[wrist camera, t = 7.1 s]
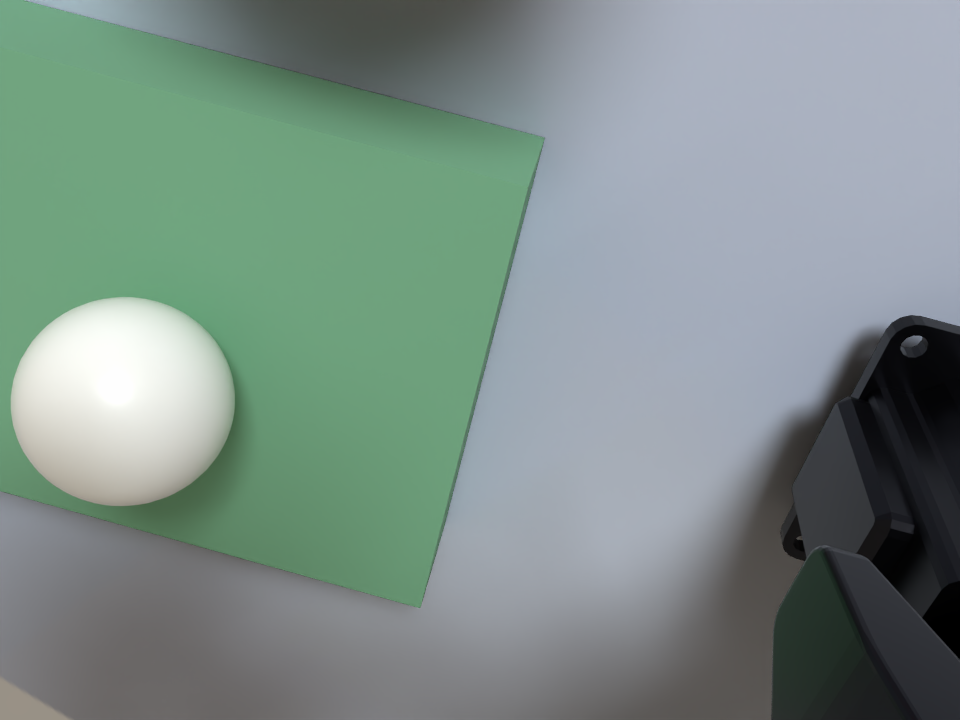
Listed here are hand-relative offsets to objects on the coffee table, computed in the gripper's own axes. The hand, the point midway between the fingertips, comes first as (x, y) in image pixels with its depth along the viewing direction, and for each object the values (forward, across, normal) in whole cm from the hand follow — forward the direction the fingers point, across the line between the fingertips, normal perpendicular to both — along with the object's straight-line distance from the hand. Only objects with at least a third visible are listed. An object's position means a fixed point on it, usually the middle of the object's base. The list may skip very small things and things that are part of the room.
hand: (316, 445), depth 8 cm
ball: (+5, +5, +6) cm, 9 cm away
